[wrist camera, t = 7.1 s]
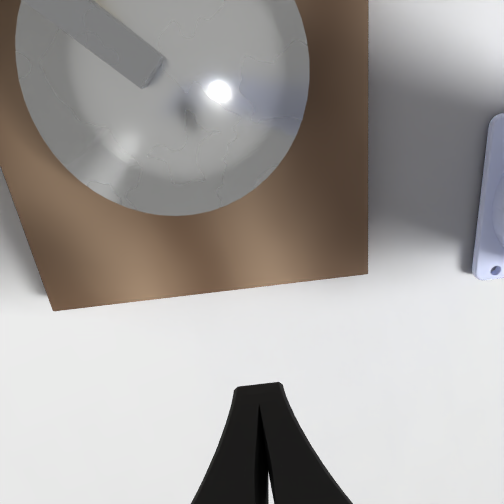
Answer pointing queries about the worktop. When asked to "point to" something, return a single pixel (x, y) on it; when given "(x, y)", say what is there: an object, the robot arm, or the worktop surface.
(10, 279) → the worktop surface
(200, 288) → the brown flat rectangular slab
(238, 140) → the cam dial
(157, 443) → the worktop surface
